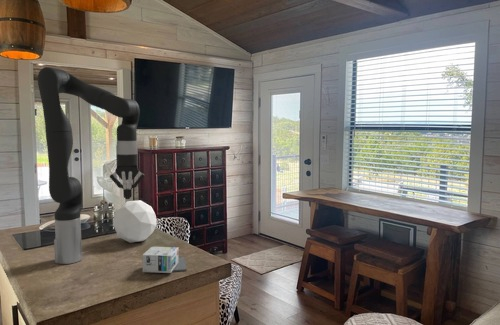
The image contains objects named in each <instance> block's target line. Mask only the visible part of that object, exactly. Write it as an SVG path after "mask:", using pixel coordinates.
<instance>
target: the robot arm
mask: <svg viewBox="0 0 500 325" xmlns="http://www.w3.org/2000/svg"><path fill="white" fill-rule="evenodd" d="M37 85H38V86H37V87H38V90H39V95H40V100H41V106H42V111H43V118H44V129H45V130H44V133H45V138H46V147H47V157H48V158H47V159H48V160H47V161H48V191H49V195H50V198H51V199H52V200H53V201H54V202H56V203H57V204H58V203H59V205H58V208H56V210H55V212H54V232H55V234H54V235H55V238H54V240H53V248H54V264H60V265H67V264H68V265H70V264H76V263H78V262H80V261H82V260H83V253H82V252H83V251H82V248H83V246H82V229H81V228H82V227H81V226H82V225H81V212H82V210H83V186H82V184H81V182H80V180H79V179H78V178H76V177H74V176H69V175H70V174H69V161H70V157H71V154H72V150H73V147H74V146H73V145H74V138H73V129H72V128H73V127H72V124H71V123H70V120H69V118H68V117H67V115H66V113H65V112H64V110H63V108H62V105H61V100H60V94H67V95H72V96H75V97H78V98H80V99H82V100H83V101H85V102H86V103H88V104H89V105H91V106H94V107H96V108H98V109H101V110H104V111H106V112H108V113H109V114H110V115H113V116H114V117H118V118H121V119H122V120H121V124H119V125H118V126H117V127H116V144H115V145H116V148H115V150H116V151H115V153H116V156H115V157H116V159H115V160H116V167H115V169H114V170H115V171H114V172H113V173H111V174H110V175H109V178H110V179H111V181H113V183H114V184H115V185H116V187H117V188H119V189H122V190H123V198H124V199H125V200H130V199H131V198H132V196H133V191H132V189H134V188H137V186H139V184H140V183H141V181H142V180H143V178H145V174H144V173H142V172H141V171H140V168H139V166H138V155H139V154H138V152H139V151H138V142H137V138H138V137H137V135H138V134H137V129H138V124H139V120H140V115H141V114H140V113H141V112H140V111H141V109H140V105H139V103H138V102H137V101H136V100H135V99H131V98H123V97H120V96H117V95H115V94H114V93H113V92H111V91H109V90H106V89H104V88H101V87H99V86H95V85H92V84H89V83H87V82H86V81H83V80H81V79H79V78H77V77H76V76H74V75H73V74H71V73H69V72H68V71H66V70H64V69H61V68H55V67H50V66H45V67H43V68H40V70H39V71H38V74H37ZM118 177H119V179H120V180H122V182H121V181H120V180H119V179H118ZM136 177H137V179H136V181H135V182H134V183H133V180H135V178H136Z"/></svg>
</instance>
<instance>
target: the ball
mask: <svg viewBox="0 0 500 325" xmlns="http://www.w3.org/2000/svg"><path fill="white" fill-rule="evenodd" d="M112 225H113V227H114V230H115V233H116V234H117V237H118V238H120V239H122V240H124V241H126V242H127V243H130V244H132V243H139V242H144V241H145V240H147V238H149V237H150V236H151V235H152V234H153V233H154V232H155V230H156V227H157V216H156V213H155V211H154V209H153V207H152V206H151V205H149V204H147V203H146V202H144V201H143V200H140V199H139V200H129V201H128V200H127V201H126V202H124V203H123V204H122V205H121V206H120V207H119V208H117V209H116V210H115V213H114V216H113V221H112Z"/></svg>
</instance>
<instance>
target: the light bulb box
mask: <svg viewBox="0 0 500 325" xmlns="http://www.w3.org/2000/svg"><path fill="white" fill-rule="evenodd" d="M179 248H180V247H179V246H178V247H174V246H172V247H171V246H151V247H150V248H149V249H148V250H146V251H145V252H144V253H143V254H142V273H153V272H157V273H156V274H161V273H163V274H172V273H173V272H172V271H173V270H174V268H175V267H176V265H177V264H178V257H179V250H180V249H179Z"/></svg>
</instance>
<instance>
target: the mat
mask: <svg viewBox="0 0 500 325" xmlns="http://www.w3.org/2000/svg"><path fill="white" fill-rule="evenodd" d="M186 271H187V263H186V258H185V256H178V264H177V265H176V267H175V268H174V270H173V271H172V272H171V273H175V272H176V273H177V272H186ZM152 274H158V273H157V272H152Z"/></svg>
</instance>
